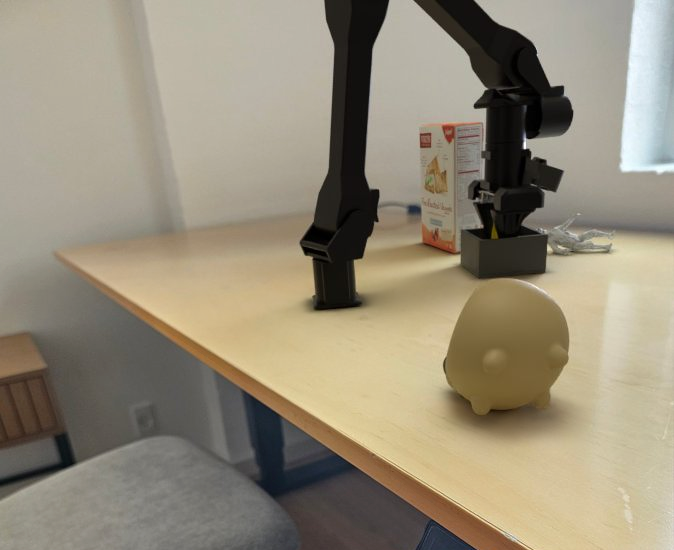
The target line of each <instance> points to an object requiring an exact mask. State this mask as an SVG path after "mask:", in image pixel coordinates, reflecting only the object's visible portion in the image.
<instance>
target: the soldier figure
mask: <svg viewBox="0 0 674 550" xmlns="http://www.w3.org/2000/svg"><path fill="white" fill-rule="evenodd" d="M580 215H581V213H580V212H577V213H575V214H574V215H572V216H571V217H570V218H569V219H567V220H566V221H565V222H563V223H562V224H560V225H557V226H554V227H552V228H551V229H550V231H547V229H543V228H541V227H539V228H538V229H537V230H538V231H541V232H543V233H546V234H548V243H547V246H548V247H549V248H550V249H552V251H553V252H554V253H556V254H559V255H560V254H561V255H562V254H565V255H568V254H570V252H571V251H572V252H573V251H575V252H576V251H577V252H579V251H584V250H591V251H594V250H595V251H596V250H605V251H610V250H612V248H613V243H609V244H597V243H595V242H593V241H591V239H593V238H607V239H609V240H613V239H614V238H615V235H616V230H613V231H612V232H609V233H608V232H603V231H600V230H598V229H591V230H587V231H585V232H583V233H580V235H577V234H576V233H571V230H566V229H567V228H569V226H571V224H572V222H574V221H575V220H574V219H577V216H580ZM560 247H562V248H560Z"/></svg>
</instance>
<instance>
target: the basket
mask: <svg viewBox="0 0 674 550" xmlns="http://www.w3.org/2000/svg"><path fill="white" fill-rule="evenodd" d="M547 257H548V234H547V232H544V233H543V232H541V231H538V229H536V228H533V227H531V226H528V225H526V224H523V223H522V225H521V227H520V230H519V233H518V236H517V237H507V238H496V239H487V236H486V234H485V231H484V229H483V227H482V228H475V229H464V230H461V253H460V266H462V268H465V269H466V271H469V273H471V274H472V275H473V276H475V277H476V278H477V279H480V280H481V279H489V278H490V279H491V278H500V277H501V278H502V277H509V276H510V277H511V276H521V275H531V274H533V275H534V274H541V273H546V272H547Z"/></svg>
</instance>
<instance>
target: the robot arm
mask: <svg viewBox="0 0 674 550" xmlns="http://www.w3.org/2000/svg"><path fill="white" fill-rule="evenodd" d="M412 1H413V2H415V4H417V6H418V7H419V8H420V9H421V10H422V11H423V12H425V13H426V14H427V15H428V16H429V17H430V18H431V19H432V20H433V22H434V23H436V24H437V25H438V26H439V27H440V28H441V29H442V30H443V31H444V32H445V33H446V34H447V35H448V36H449V37H450V38H451V39H453V41H455V43H457V45H459V47H461V48H462V50H464V52H465V53H466V55H467V56H468V57H469V63H470V67H471V70H472V71H473V73H474V74H475V75H476V77H477V78H478V80H479V81H480V83H481V84H482V86H484V88H486V89H485V90H484V91H483V92H482V95H481V96H480V97H479V98H478V99H477V100H476V101H475V102H474V104H473V105H472V106H473V109H474V110H483V109H485V143H484V150H483V151H481V158H483V160H484V170H483V179H480V180H473V182H472V183H471V184H470V185H469V186H468V199H471V200H476V198H478V202H473V206H474V207H475V209H476V212H477V214H478V216H479V219H480V221H481V224H482V228H483V229H484V231H485V234H486V236H487V239H491V235H492V229H493V225H495V229H496V232H497V236H498V238H507V237H517V236H518V233H519V230H520V227H521V225H522V224H523V222H524V220H525V219H527V218H528V217H529V216H530V215H531V214H532V213H534V212H536V210H537V209H542V208H545V197H546V196H545V195H546V193H545V192H544V191H547V192H552V193H555V194H556V193H557V191H558V190H559V186H560V184H561V181H562V179H563V177H564V174H565V170H563V169H561V168H558V167H554V166H551V165H548V160H547V159H546V158H541V157H540V156H534V157H532V155H533V154H532V153H533V152H532V150H531V149H530V148H527V147H526V146H527V145H526V144H527V141H526V140H536V139H546V138H556V137H561V136H563V135H565V134H566V133H567V132H568V131H569V129H570V127H571V126H572V123H573V119H574V109H573V105H572V102H571V100H570V98H569V97H568V96H567V95H566V94H565V85H564V84H563V85H551V84H550V83H551V82H550V81H549V78H548V77H547V74H546V72H545V70H544V68H543V66H542V63H541V60H540V59H539V56H538V55H539V51H538V49H537V47H536V45H535V43H534V42H533V41H532V40H531V39H529V38H528V37H526V36H525V35H524V34H522V33H521V32H520V31H518V30H516V29H514V28H510V27H508V26H505V25H502V24H499V22H497V21H495V20H494V19H493V18H492V17H491V16H490V14H488V13H487V12H486V11H485V9H484V8H483V7H481V5H480V4H479V3H478V2H477V1H476V0H412ZM323 2H324V14H325V15H324V17H325V22H326V24H327V27H328V30H329V33H330V37H331V40H332V43H333V69H332V86H331V87H332V88H331V89H332V91H331V108H330V110H331V113H330V129H329V130H330V132H329V148H328V149H329V152H328V169H327V174H326V176H325V178H324V179H323V183H322V184H321V187H320V189H319V191H318V194H317V199H316V204H315V208H314V209H315V210H314V213H313V221H312V222H311V224H310V226H309V227H308V229H307V230H306V231H305V233H304V235H303V236H302V237H301V239H300V240H299V246H300V249H301V251H302V253H303V255H304V256H305V257H311V258H312V259H311V262H312V263H311V264H312V274H313V285H314V286H313V287H314V295H311V297H312V304H313V309H314V310H321V309H322V310H323V309H333V308H334V309H335V308H344V307H354V306H361V305H362V304H363V303H362V299H361V296H360V294H359V291H357V283H356V282H357V281H356V266H355V265H356V264H355V261H356V260H357V261H358V260H362V259H363V258H364V255H365V252H366V247H367V243H368V240H369V238H370V237H372V235H373V233H374V229H375V228H374V227H375V223H379V222H380V220H379V216H378V206H379V202H380V197H381V196H380V195H381V193H380V189H379V188H371V187H370V185H369V182H368V178H367V176H366V164H367V163H366V162H367V161H366V160H367V145H368V134H369V133H368V131H369V119H370V117H369V116H370V104H371V103H370V102H371V87H372V72H373V59H374V58H373V57H374V48H375V44H376V41H377V39H378V37H379V34H380V32H381V30H382V28H383V26H384V24H385V21H386V18H387V14H388V10H389V5H390V0H323ZM493 222H494V224H493Z"/></svg>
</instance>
